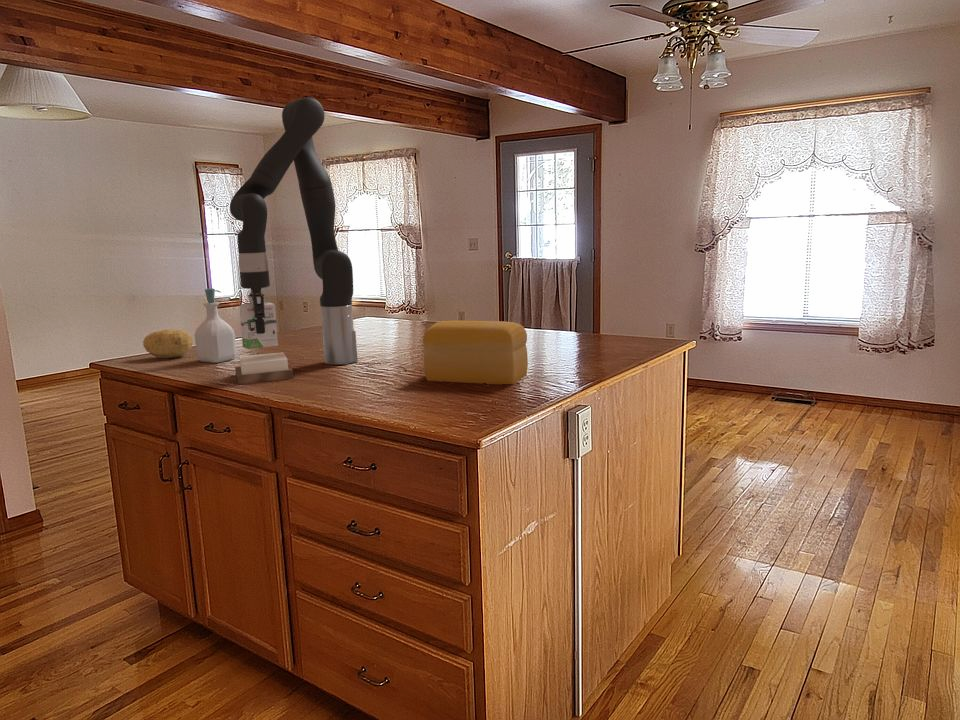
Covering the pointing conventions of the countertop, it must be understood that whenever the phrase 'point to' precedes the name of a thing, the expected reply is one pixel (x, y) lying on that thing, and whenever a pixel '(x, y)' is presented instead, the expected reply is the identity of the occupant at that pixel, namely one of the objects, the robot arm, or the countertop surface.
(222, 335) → the soap bottle
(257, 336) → the ink box
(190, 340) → the potato
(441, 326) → the bread
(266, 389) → the countertop surface
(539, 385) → the countertop surface
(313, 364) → the countertop surface
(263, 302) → the robot arm
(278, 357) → the cream slab
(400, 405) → the countertop surface
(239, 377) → the walnut slab
